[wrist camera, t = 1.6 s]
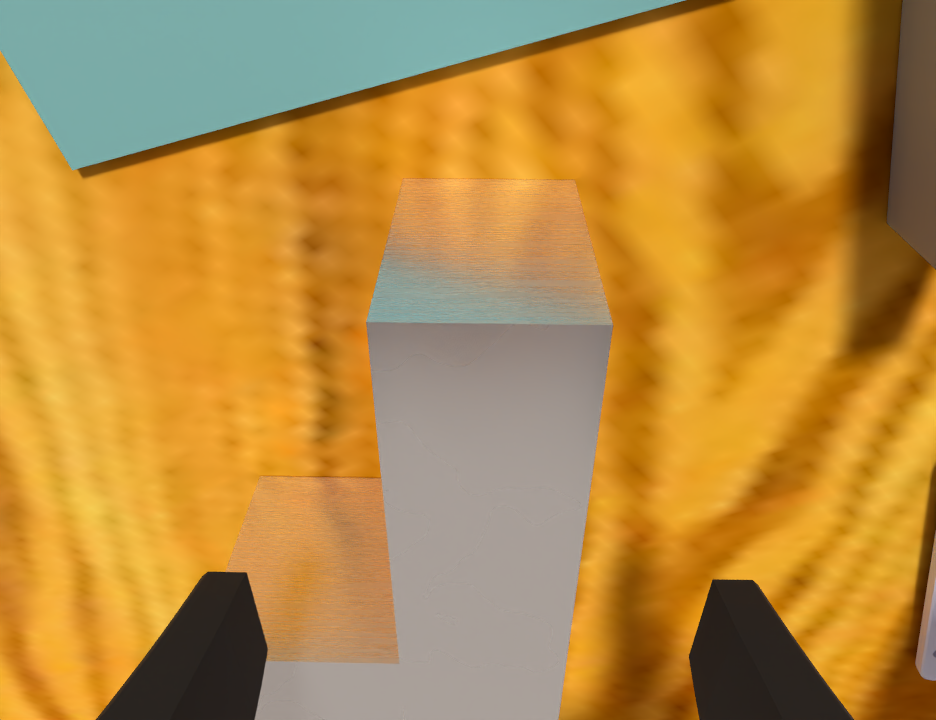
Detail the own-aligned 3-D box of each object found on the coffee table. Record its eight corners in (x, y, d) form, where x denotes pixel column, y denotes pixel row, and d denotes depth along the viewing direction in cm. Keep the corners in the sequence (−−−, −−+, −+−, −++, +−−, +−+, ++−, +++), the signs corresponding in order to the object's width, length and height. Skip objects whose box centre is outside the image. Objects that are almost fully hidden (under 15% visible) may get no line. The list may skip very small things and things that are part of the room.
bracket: (540, 564, 20) (553, 750, 16) (279, 559, 20) (226, 742, 16) (574, 179, 13) (613, 325, 9) (190, 176, 14) (62, 318, 9)
